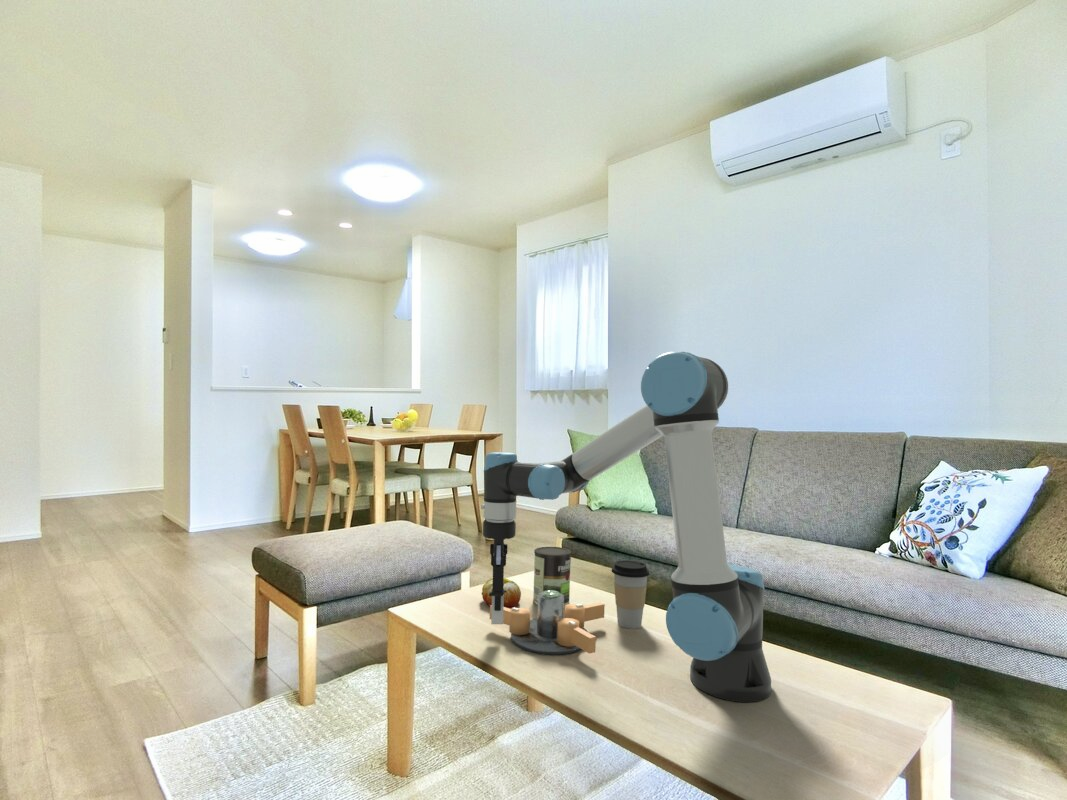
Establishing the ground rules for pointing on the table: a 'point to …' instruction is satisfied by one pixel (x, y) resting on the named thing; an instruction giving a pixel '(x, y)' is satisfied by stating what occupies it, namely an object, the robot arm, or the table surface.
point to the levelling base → (541, 643)
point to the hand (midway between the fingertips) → (497, 623)
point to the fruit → (510, 596)
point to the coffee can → (552, 571)
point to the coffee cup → (630, 591)
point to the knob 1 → (516, 620)
